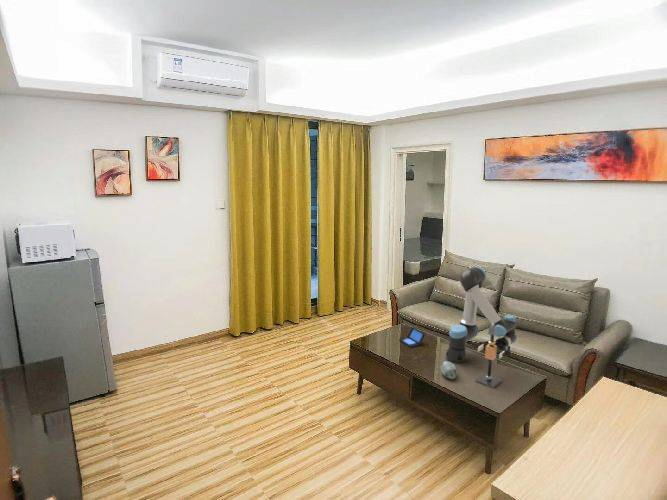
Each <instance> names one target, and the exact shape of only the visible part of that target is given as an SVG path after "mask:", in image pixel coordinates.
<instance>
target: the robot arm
mask: <svg viewBox="0 0 667 500" xmlns="http://www.w3.org/2000/svg"><path fill="white" fill-rule="evenodd" d="M486 278H487V273H486V271H485V270H484V268H482V267H480V266H473V267H471V268H467V269H466V270H463V271H462V272H461V273H460V276H459V281H460V285H461V286H462V289H463V290H464V291H465V298H464V306H463V314H462V318H461V319H460V320H459V324H454V325H452V326H451V327H449V338H448V348H447V350H446V353H445V360H446V361H448V362H451V363H453V364H454V363H455V364H464V363H466V362H468V360H469V359H468V356H469V355H468V353H467V342H468V341H471V340H472V339H475V338H476V336H478V334H479V326H478V322H477V321H476V318H477V310H478V308H479V310H480V312H482V314H483V315H484V317H485V318H486V320H487V321H488V323H489V324H490V326H491V325H492V323H494V326H497V334H496V335H495V336H496V337H497V339H495V340H494V341H495V345H496V346H497V350H500V351H501V352H500V353H499V354H498V359H502V358H503V357H505V356H508V357H511V345H513V344H514V343H515V342H516V341H517V340H518V335H517V333H516V323H517V320H516V319H517V317H515V316H514V315H512V314H505V315H504V316H503V319H502V318H501V317H500V315H499V314H498V313H497V311H496V309H495V308H494V307H493V305H492V304H491V303H490V301H489V300H488V298H487V296H485V294H484V292H482V290H481V289H482V288H483V283H484V282H485V280H486ZM488 341H489V340H486V341H480V342H479V343H478V347H477V352H480V351H482V350H483V349H484V348H485V349H486V346H487V345H488Z"/></svg>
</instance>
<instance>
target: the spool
mask: <svg viewBox="0 0 667 500" xmlns="http://www.w3.org/2000/svg"><path fill="white" fill-rule="evenodd" d="M440 371H441V373H442V375H443V376H444V377H446V378H447V379H449V380H454V379H456V377H457V367H456V365H455V364H454V363H453V362H451V361H449V360H446V361H444V362H442V363H441V367H440Z"/></svg>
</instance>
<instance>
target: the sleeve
mask: <svg viewBox="0 0 667 500" xmlns="http://www.w3.org/2000/svg"><path fill="white" fill-rule="evenodd" d="M497 350H498V349H497V346H496V345H493V347H490V345H489V344H488V345H487V346H486V348H485V353H484V358H485V359H487V360H489V359H490V360H492V361H495V360H496V359H497V354H498V353H497V352H498V351H497Z"/></svg>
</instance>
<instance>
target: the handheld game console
mask: <svg viewBox="0 0 667 500" xmlns="http://www.w3.org/2000/svg"><path fill="white" fill-rule="evenodd" d="M425 335H426V334H425V333H424V332H423V331H421V330H419V329H417V328H416V327H412V328H411V329H410V330H409V333H408V334H407V336H406V337H401V338H399V339H398V340H399V342H401V343H402V344H404V345H405V346H407V347H409V348H416V347H421V344H422V342H423V339H424V337H425Z"/></svg>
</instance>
